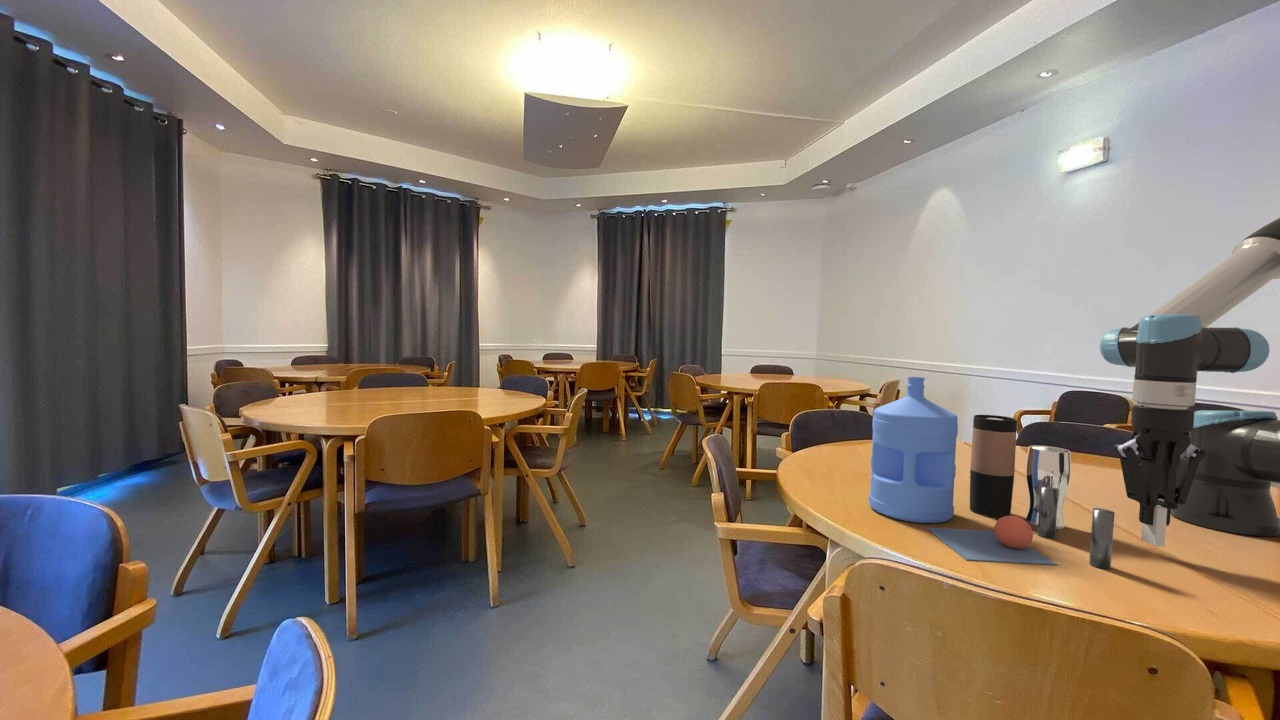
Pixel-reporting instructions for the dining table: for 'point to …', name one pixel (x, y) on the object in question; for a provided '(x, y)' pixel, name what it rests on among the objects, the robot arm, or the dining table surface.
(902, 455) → the water jug
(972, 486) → the travel mug
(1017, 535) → the ball
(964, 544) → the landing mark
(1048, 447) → the beer glass
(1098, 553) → the post
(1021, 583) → the dining table surface
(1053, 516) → the post
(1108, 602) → the dining table surface
